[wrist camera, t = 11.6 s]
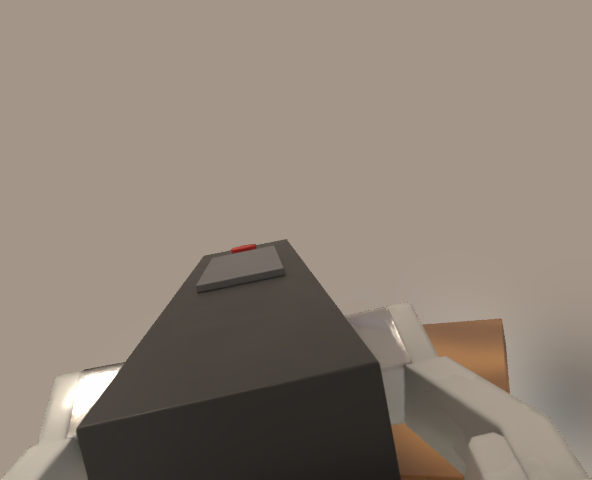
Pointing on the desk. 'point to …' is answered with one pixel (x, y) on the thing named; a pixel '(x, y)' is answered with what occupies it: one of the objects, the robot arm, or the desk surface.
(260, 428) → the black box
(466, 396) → the robot arm
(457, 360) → the stand
